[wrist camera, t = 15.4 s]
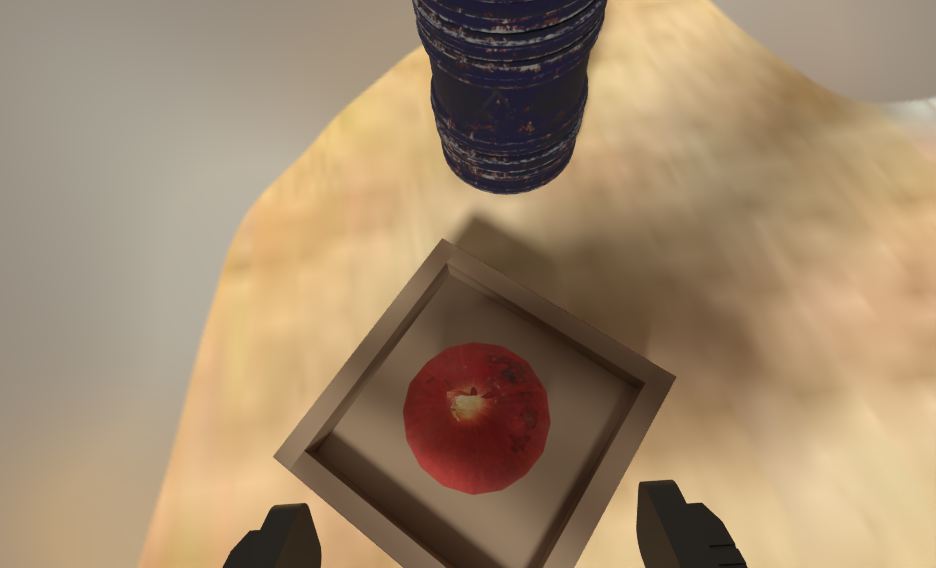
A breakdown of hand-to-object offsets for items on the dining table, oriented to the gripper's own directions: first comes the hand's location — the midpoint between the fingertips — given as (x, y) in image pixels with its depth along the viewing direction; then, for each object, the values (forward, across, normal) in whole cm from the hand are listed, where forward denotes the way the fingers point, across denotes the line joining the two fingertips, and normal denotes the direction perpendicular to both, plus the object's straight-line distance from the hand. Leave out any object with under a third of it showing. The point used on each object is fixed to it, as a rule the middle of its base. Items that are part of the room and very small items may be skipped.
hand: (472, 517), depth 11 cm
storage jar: (+28, -3, -6) cm, 28 cm away
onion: (+10, 0, +5) cm, 11 cm away
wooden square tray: (+13, 0, +9) cm, 16 cm away
